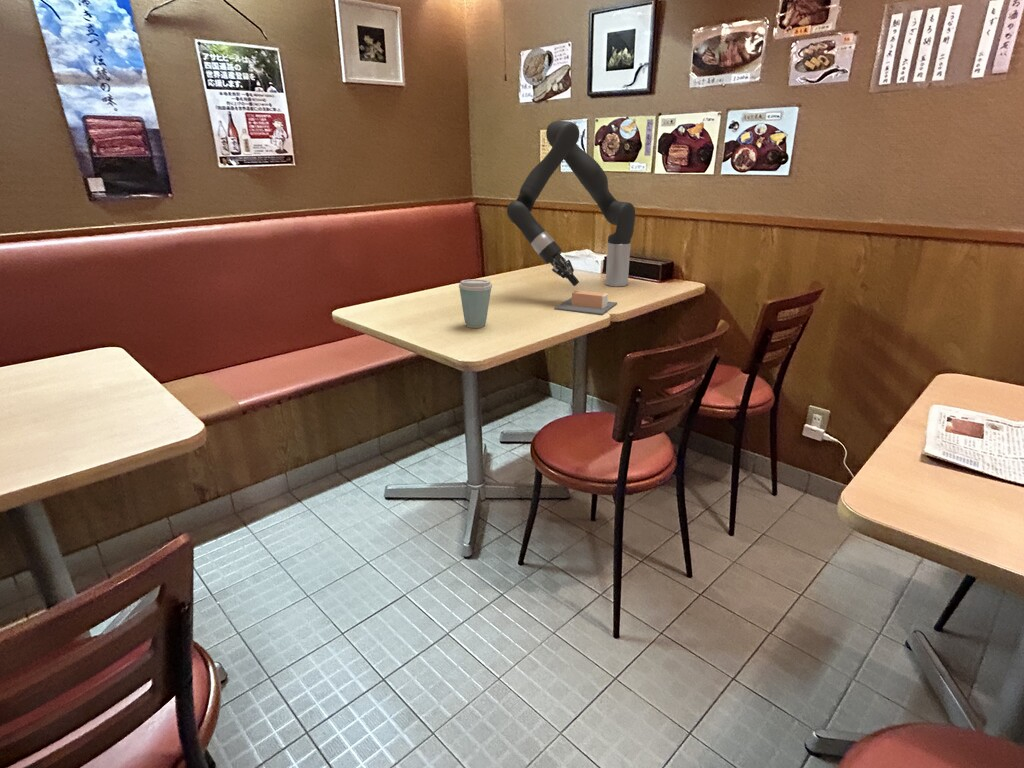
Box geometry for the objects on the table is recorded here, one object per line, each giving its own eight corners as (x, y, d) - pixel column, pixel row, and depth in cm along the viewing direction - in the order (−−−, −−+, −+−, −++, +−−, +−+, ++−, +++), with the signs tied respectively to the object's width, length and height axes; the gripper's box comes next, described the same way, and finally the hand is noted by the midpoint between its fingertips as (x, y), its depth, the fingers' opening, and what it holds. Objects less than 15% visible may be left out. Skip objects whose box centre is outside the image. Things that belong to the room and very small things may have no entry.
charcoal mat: (571, 298, 224) (571, 297, 224) (617, 304, 216) (617, 302, 216) (554, 309, 210) (554, 307, 210) (602, 315, 202) (602, 313, 202)
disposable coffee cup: (459, 321, 196) (458, 276, 190) (492, 320, 197) (491, 276, 191) (460, 330, 186) (458, 283, 181) (494, 329, 187) (493, 283, 182)
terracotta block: (576, 290, 215) (607, 293, 210) (576, 302, 217) (607, 305, 212) (571, 292, 211) (603, 296, 206) (571, 305, 213) (603, 308, 208)
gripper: (545, 243, 205) (577, 281, 204) (560, 237, 216) (590, 274, 215) (531, 257, 209) (562, 294, 208) (546, 251, 220) (576, 287, 219)
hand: (576, 284), depth 212 cm, fingers closed
